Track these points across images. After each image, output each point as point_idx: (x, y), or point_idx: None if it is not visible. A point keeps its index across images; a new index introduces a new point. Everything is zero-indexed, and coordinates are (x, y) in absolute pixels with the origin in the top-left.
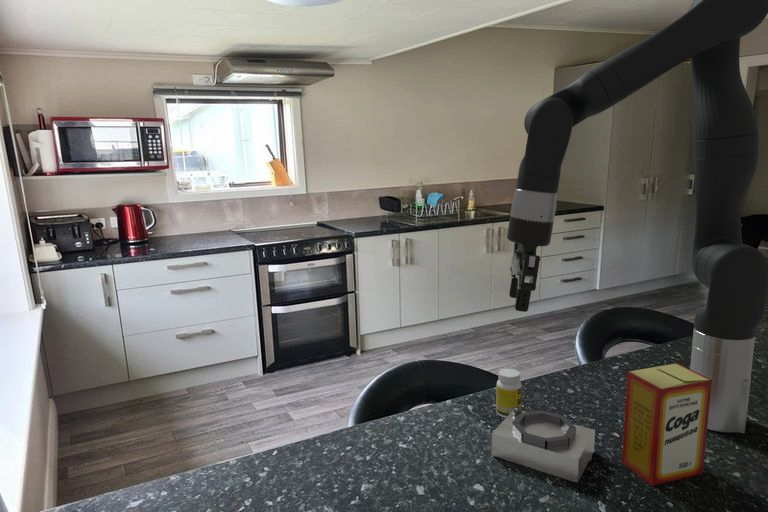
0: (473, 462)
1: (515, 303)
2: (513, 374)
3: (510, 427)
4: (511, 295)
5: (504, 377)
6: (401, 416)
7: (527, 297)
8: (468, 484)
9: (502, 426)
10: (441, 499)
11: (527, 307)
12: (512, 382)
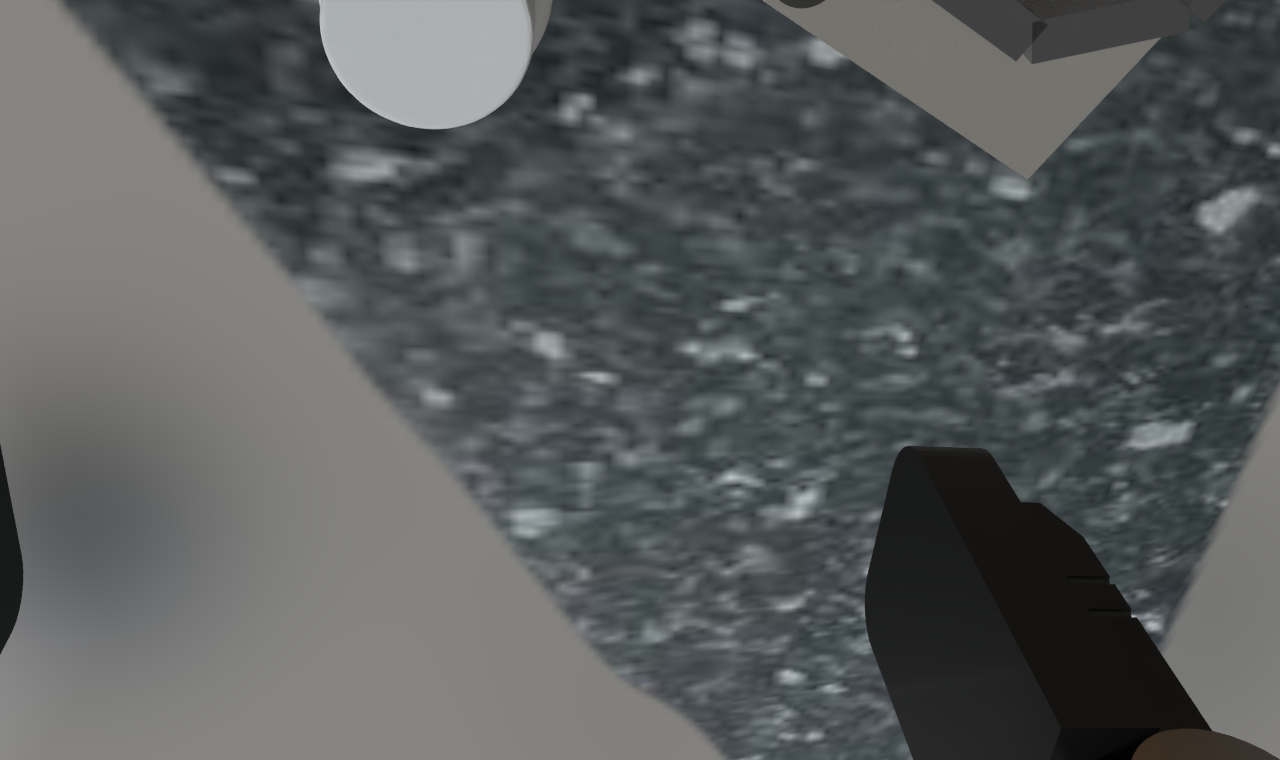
0: (1021, 211)
1: (896, 691)
2: (475, 3)
3: (983, 50)
4: (11, 596)
5: (514, 88)
6: (512, 520)
7: (1172, 696)
8: (1192, 251)
9: (958, 101)
10: (1253, 362)
11: (999, 494)
12: (533, 1)
